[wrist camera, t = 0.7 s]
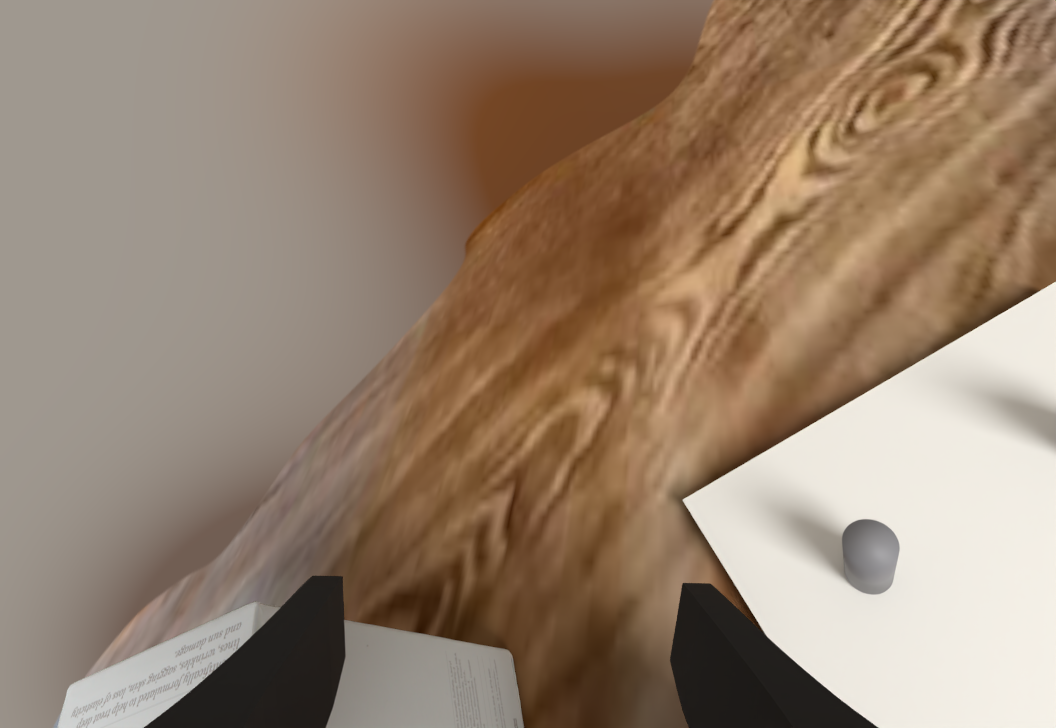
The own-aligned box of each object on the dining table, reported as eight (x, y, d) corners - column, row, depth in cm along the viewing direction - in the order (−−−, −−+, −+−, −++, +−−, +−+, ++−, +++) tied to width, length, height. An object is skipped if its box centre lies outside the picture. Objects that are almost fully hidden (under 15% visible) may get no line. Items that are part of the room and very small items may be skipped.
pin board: (1438, 540, 17) (1607, 480, 13) (876, 812, 19) (881, 828, 15) (1051, 295, 24) (1086, 213, 21) (687, 506, 27) (659, 467, 23)
